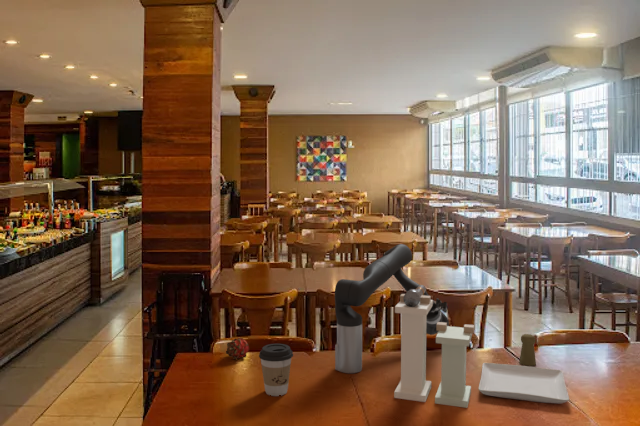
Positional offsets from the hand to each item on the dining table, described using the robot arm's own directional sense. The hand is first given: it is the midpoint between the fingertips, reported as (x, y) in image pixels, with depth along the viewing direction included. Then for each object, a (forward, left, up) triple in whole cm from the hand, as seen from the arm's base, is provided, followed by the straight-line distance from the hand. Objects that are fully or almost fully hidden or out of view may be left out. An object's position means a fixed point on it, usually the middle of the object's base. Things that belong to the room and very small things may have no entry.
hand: (425, 300), depth 207 cm
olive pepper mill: (+36, +18, -26) cm, 48 cm away
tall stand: (0, -24, -26) cm, 35 cm away
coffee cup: (-43, -38, -26) cm, 63 cm away
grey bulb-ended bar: (0, -19, +4) cm, 19 cm away
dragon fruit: (-71, -12, -26) cm, 77 cm away
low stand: (+13, -24, -26) cm, 37 cm away
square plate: (+34, -8, -26) cm, 44 cm away
